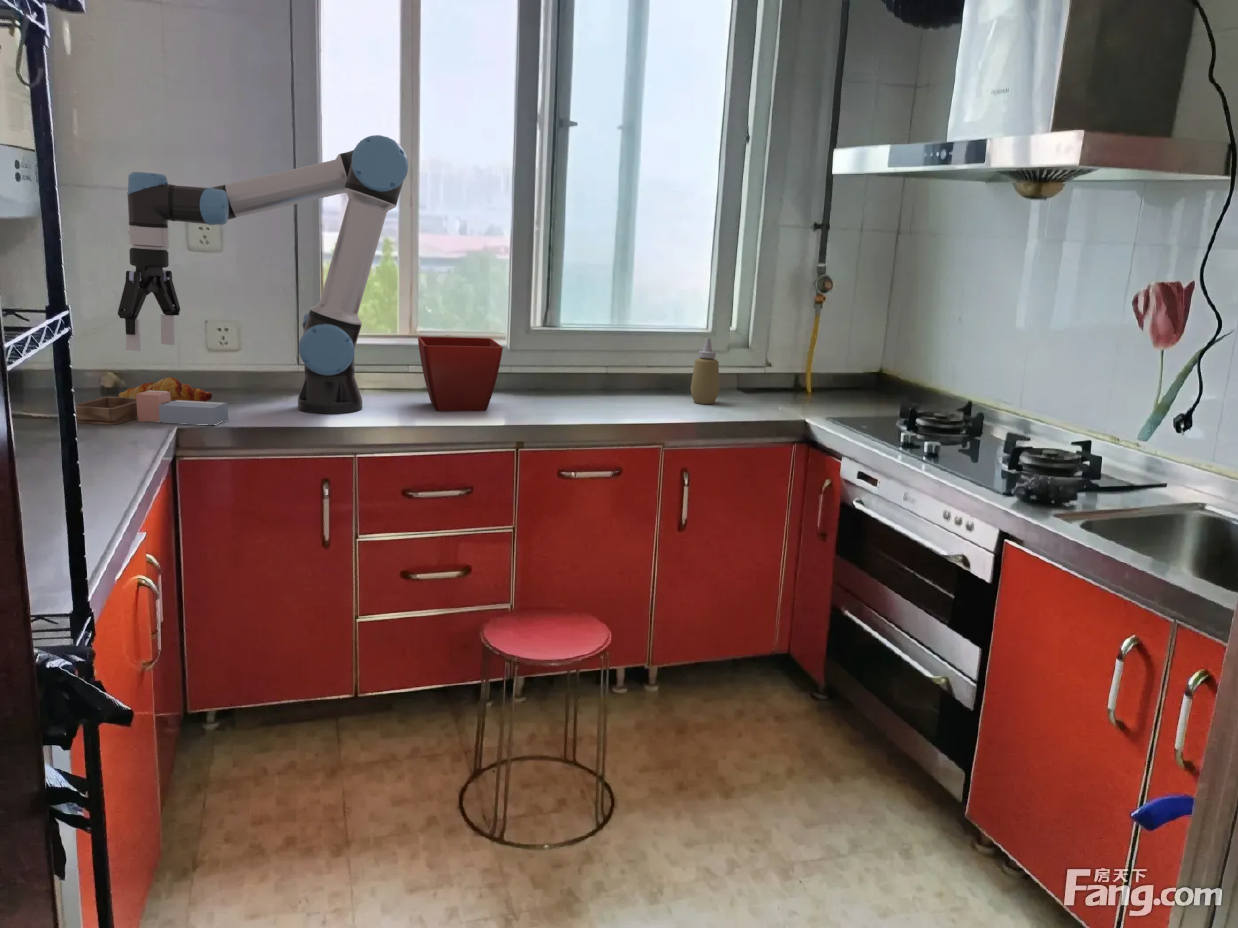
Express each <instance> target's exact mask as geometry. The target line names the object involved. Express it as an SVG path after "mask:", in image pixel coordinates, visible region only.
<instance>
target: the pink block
mask: <svg viewBox="0 0 1238 928" xmlns="http://www.w3.org/2000/svg"><path fill="white" fill-rule="evenodd" d="M136 401H137V416H138V418H137V422H145V421H160V417H159V405H160V404H162V403H166V402H170V401H171V396H170V392H168V391H150V390H149V391H146V392H142V393H138V394H136Z"/></svg>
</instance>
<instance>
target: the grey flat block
mask: <svg viewBox="0 0 1238 928" xmlns="http://www.w3.org/2000/svg"><path fill="white" fill-rule="evenodd" d="M228 404H229V403H228V402H221V401H220V402H217V401H206V402H203V401H186V400H173V401H170V402H166V403H162V404H160V405H159V417H160V422H166V423H187V424H208V425H214V424H217V423H219V422H221V421H226V420H228V421H229V405H228ZM160 422H159V423H160ZM226 422H227V421H226ZM166 423H165V424H166Z"/></svg>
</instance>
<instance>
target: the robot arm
mask: <svg viewBox="0 0 1238 928" xmlns="http://www.w3.org/2000/svg"><path fill="white" fill-rule="evenodd" d="M408 172H409V160H408V157H407V154H406V152H405V150H404V149H403V147H402V146H401V145H400V143H398V142H396V140H394V139H392V138H390V137H389V136H384V135H381V134H379V135H378V134H377V135H376V134H375V135H369V136H367V137H364V138H362V139H361V140H360V141H359V142H358V143H357V144H356V146H355V148H353V150H349V151H346V152H342V153H338V154H337V155H336V158H335V159H332V160H328V161H323V162H319V163H315V164H310V165H305V166H301V167H298V168H293V169H288V170H284V171H280V172H275V173H270V174H267V175H262V176H257V177H253V178H249V179H244V180H239V181H234V182H231V183H226V184H222V185H216V186H212V187H202V186H201V187H199V186H186V185H176V184H171V183H169V182H168V177H167V176H166V175H165V174H161V173H152V172H143V171H142V172H141V171H132V172H131V173H130V174H128V176H127V177H128V178H127V179H128V180H127V192H126V194H127V211H128V212H127V213H128V225H129V226H128V235H129V238H128V239H129V244H130V245H131V246H132V247H130V248H129V250H128V251H129V265H131V266H133V267H135V270H127V271H126V272H125V281H124V282H125V283H124V285H123V290H122V294H121V298H120V302H119V306H118V309H117V315H118V317H119V318H120V319H123V320H124V319H125V320H124V321H125V322H124V323H125V327H124V328H125V348H126V349H125V350H127V351H136V352H139V351H141V320H140V319H138V316H139V315H140V312H141V310H142V308H143V305H144V303H145V300H146V298H147V296H148V295H150V294H151V293H152V294H153V296H154V298H155V300H156V302H157V304H158V305H159V308H160V310H161V312H162V314H160V339H161V340H160V344H161V345H169V346H175V343H176V340H175V316H179V315H180V312H181V307H180V303H179V299H178V296H177V295H178V294H177V292H176V290H175V285H174V282H173V272H172V270H168V269H167V270H165V269H164V268H168V267H169V264H170V262H169V261H170V259H169V251H168V250H167V248H168V247H169V225H168V223H169V221H171V222H179V223H180V222H182V223H191V224H202V225H203V224H204V225H208V226H211V225H212V226H215V225H216V226H219V225H220V226H221V225H224V226H225V225H226V224H227V223H228V221H229V220H233V219H236V218H240V217H244V216H245V217H246V216H249V215H254V214H258V213H262V212H266V211H271V210H276V209H279V208H283V207H284V208H285V207H288V206H294V205H297V204H302V203H306V202H310V201H314V200H320V199H324V198H328V197H331V196H332V197H333V196H336V195H341V194H346V196H347V198H348V201H347V204H346V207H345V211H344V215H343V218H342V222H341V226H340V230H339V231H338V232H339V233H338V235H337V239H336V243H335V246H334V249H333V253H332V257H331V261H330V264H329V268H328V271H327V274H326V279H325V282H324V285H323V290H322V293H321V296H320V299H319V302H318V303H316V304H315V305H313V306H311V307H310V310H309V312H308V313H305V314H304V315H303V317H302V318H303V321H302V325H301V326H302V328H303V333H302V336H301V337H300V340H299V343H298V349H299V350H298V353H299V357H300V359H301V361H302V362H303V365H304V377H303V381H302V385H301V388H300V392H299V395H298V398H297V409H298V410H299V411H303V412H308V413H315V414H316V413H318V414H341V413H343V414H345V413H352V412H358V411H360V410H362V409H363V397H362V395H361V393H360V392H361V391H360V389H359V386H358V383H357V379H356V377H355V376H356V374H355V372H356V371H355V349H356V346H357V342H358V339H359V336H360V331H361V329H362V324H363V323H362V321H361V318H360V317H359V311H360V307H361V303H362V300H363V297H364V294H365V290H366V287H367V283H368V279H369V276H370V274H371V269H372V266H373V262H374V259H375V255H376V253H377V248H378V244H379V242H380V238H381V235H382V231H383V228H384V224H385V222H386V217H387V213H388V212H389V211H391V210H393V209H394V208H395V209H396V207H397V204H398V200H399V197H400V195H401V191H402V187H403V184H404V181H405V180H406V177H407V175H408Z"/></svg>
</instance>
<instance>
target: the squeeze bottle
mask: <svg viewBox="0 0 1238 928" xmlns="http://www.w3.org/2000/svg"><path fill="white" fill-rule="evenodd" d="M711 340H712V339H711V338H705V342H704V346H703V348H702V350H699V351H698V357H699V358H697V359H695V360H694V364H693V372H692V377H691V384H690V392H691V397H692V400H693V401H692V402H694V403H696V404H700V405H712V404H715V403H716V400H717V398H718V395H719V392H720V371H719V370H720V369H719V363H720V362H719V361H718V359H716V355H717V354H716V353H717V352H716V351H713V346H712V341H711Z"/></svg>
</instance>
